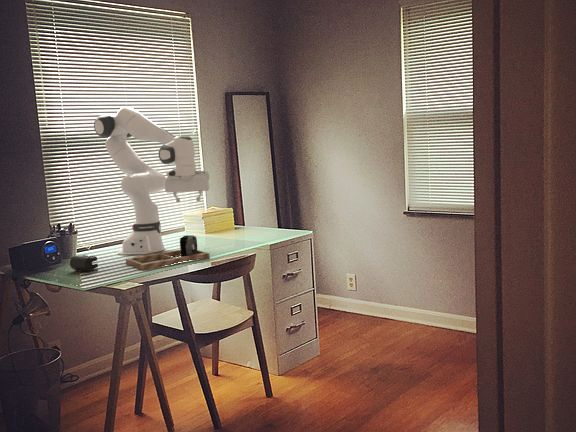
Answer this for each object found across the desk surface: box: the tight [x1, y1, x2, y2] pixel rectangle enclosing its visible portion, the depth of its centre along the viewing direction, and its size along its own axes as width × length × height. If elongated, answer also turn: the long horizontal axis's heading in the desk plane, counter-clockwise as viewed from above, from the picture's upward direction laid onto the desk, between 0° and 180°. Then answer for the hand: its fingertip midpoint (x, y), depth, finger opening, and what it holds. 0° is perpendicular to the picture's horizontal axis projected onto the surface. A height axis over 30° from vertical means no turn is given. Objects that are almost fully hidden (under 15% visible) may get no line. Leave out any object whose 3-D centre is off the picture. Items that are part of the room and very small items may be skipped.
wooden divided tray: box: [125, 249, 211, 271], centre depth 277 cm, size 32×20×2 cm, turn 125°
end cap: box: [69, 254, 99, 273], centre depth 266 cm, size 10×7×7 cm
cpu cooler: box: [179, 234, 198, 257], centre depth 281 cm, size 10×6×10 cm, turn 173°
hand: (188, 201), depth 284 cm, fingers open, 8 cm apart
